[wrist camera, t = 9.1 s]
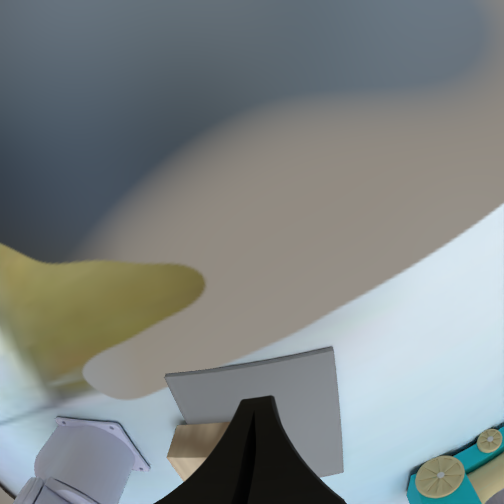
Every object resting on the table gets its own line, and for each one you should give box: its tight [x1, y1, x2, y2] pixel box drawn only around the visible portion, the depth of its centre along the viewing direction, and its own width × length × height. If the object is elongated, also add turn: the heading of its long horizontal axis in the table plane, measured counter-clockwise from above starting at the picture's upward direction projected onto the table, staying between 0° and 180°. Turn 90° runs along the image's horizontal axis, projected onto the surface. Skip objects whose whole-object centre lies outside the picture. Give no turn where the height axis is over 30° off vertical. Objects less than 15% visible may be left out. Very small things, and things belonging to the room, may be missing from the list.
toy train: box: [407, 426, 504, 504], centre depth 18 cm, size 8×17×15 cm, turn 106°
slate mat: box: [164, 347, 344, 478], centre depth 23 cm, size 13×17×1 cm
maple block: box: [167, 422, 230, 481], centre depth 21 cm, size 4×4×8 cm
